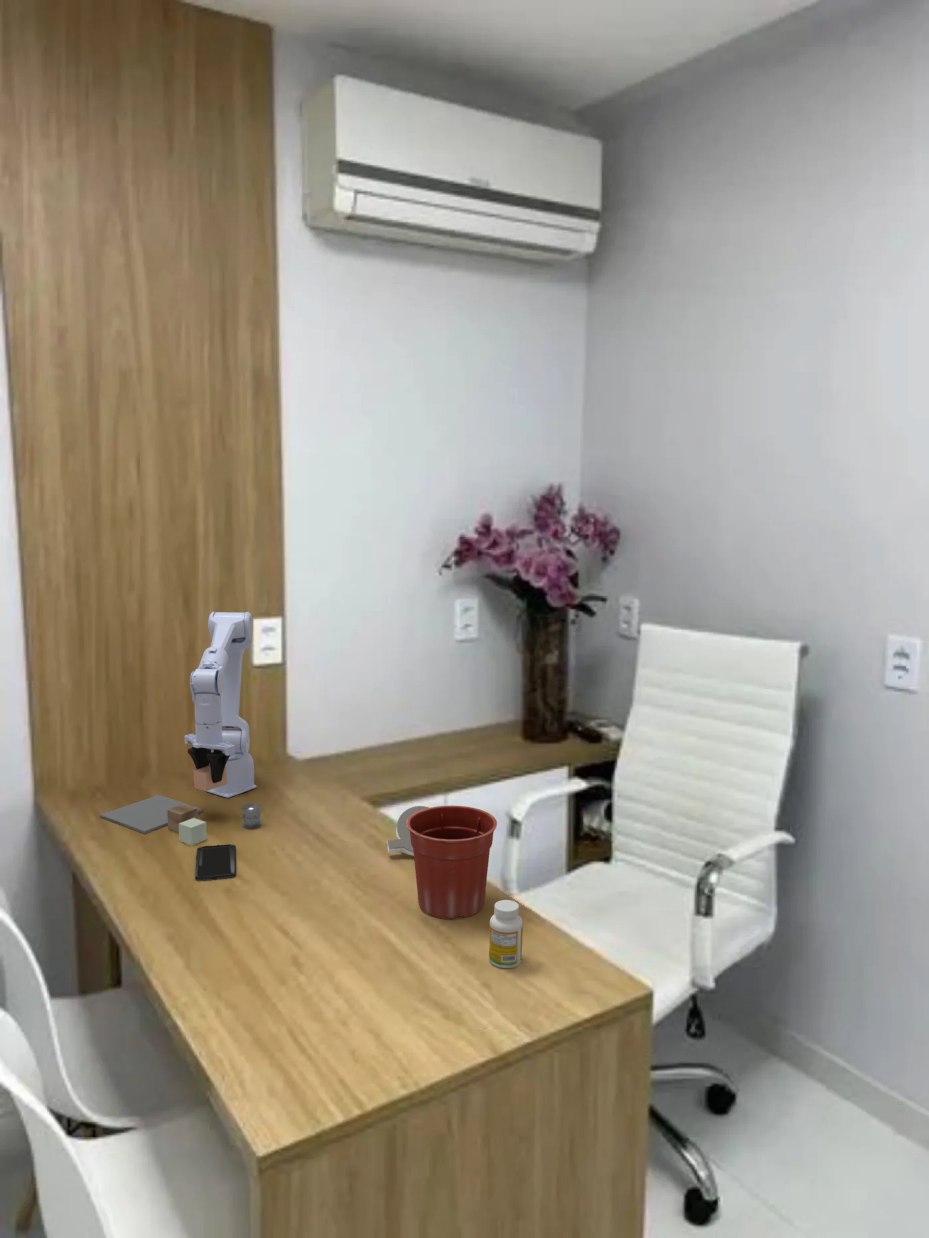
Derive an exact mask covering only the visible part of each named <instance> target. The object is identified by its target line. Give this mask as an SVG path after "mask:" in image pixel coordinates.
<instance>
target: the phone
mask: <svg viewBox="0 0 929 1238" xmlns="http://www.w3.org/2000/svg"><path fill="white" fill-rule="evenodd" d="M236 849H237V846H236V845H235V844H233V843H232V844H231V843H229V844H219V845H218V844H216V845H205V846H204V845H203V846H199V847H197V849H196V856H195V869H194V880H195V881H197V882H207V881H215V880H228V879H227V878H230V879H234V878H235V877H237V853H236V852H237V850H236ZM233 877H234V878H233Z"/></svg>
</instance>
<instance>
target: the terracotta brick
mask: <svg viewBox="0 0 929 1238" xmlns="http://www.w3.org/2000/svg"><path fill="white" fill-rule="evenodd" d="M225 784H227V771H226V767H225V768H224V772H223V776H222V781H220V782H217V783H213V781H212V777H211V768H210V764H209V766H206V767H203V768H200V769H197V770H196V769H194V770H193V787H194V789H197V790H201V791H204V792H207V791H208V790H211V789H214V788H217V787H220V786H223V785H225Z"/></svg>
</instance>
